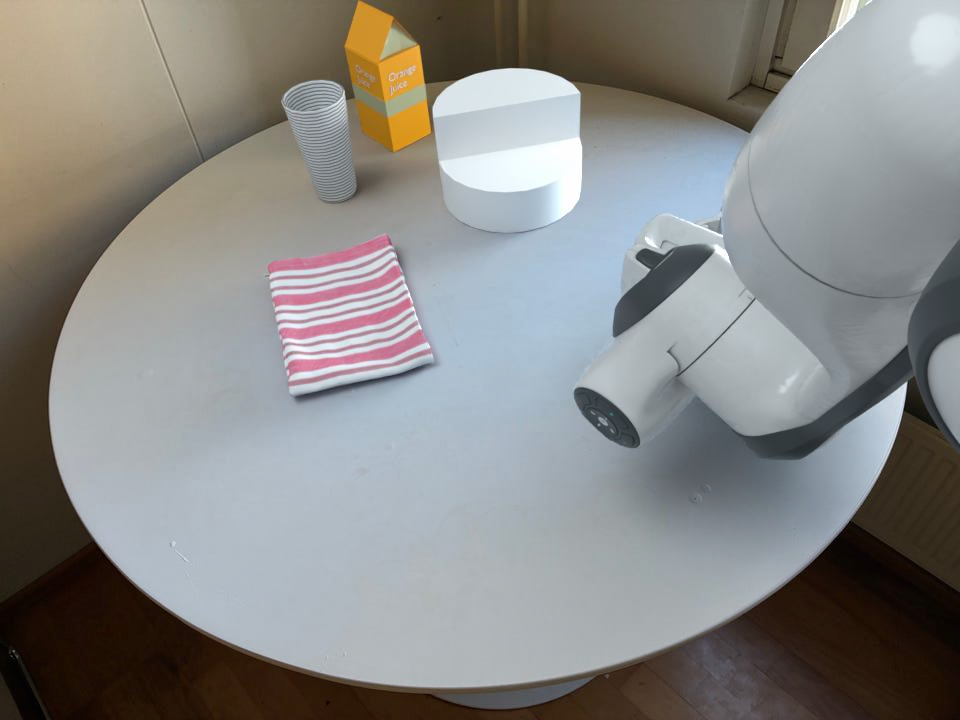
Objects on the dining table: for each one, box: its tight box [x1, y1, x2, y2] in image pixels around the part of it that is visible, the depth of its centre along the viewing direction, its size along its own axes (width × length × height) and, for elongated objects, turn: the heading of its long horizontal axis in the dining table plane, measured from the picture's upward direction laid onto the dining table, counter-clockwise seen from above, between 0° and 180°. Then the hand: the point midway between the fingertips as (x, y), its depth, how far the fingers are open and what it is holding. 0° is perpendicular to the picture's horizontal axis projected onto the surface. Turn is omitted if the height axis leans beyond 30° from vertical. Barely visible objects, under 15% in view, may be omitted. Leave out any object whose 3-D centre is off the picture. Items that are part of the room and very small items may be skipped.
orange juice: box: [343, 0, 432, 153], centre depth 116 cm, size 8×9×20 cm
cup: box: [281, 78, 358, 204], centre depth 108 cm, size 8×8×16 cm
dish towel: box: [267, 232, 434, 397], centre depth 94 cm, size 17×23×4 cm
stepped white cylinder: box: [432, 67, 583, 234], centre depth 106 cm, size 20×20×13 cm
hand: (770, 234), depth 77 cm, fingers open, 8 cm apart
